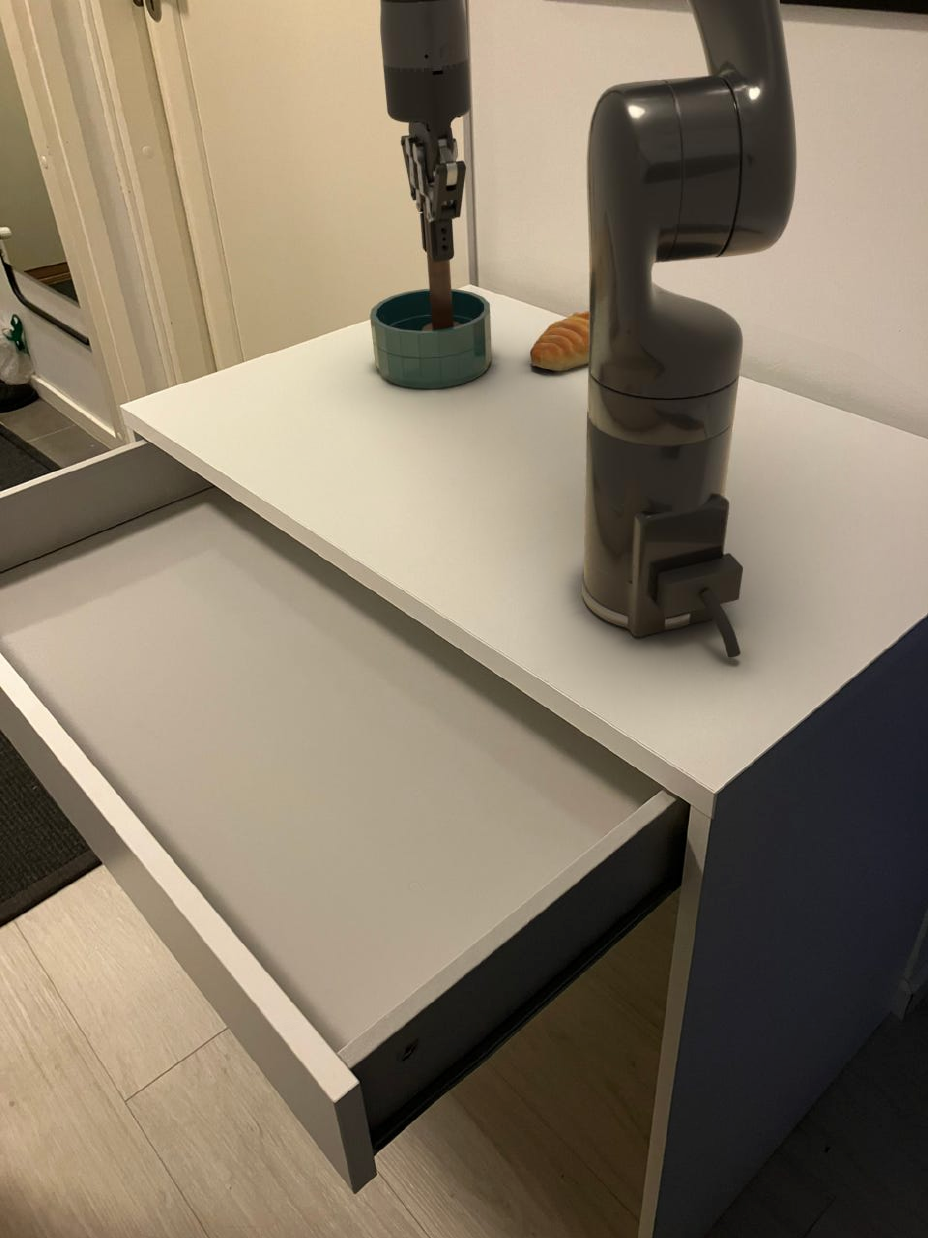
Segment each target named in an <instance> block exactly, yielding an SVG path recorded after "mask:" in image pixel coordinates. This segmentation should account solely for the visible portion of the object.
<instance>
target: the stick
mask: <svg viewBox="0 0 928 1238" xmlns="http://www.w3.org/2000/svg"><path fill="white" fill-rule="evenodd" d="M442 205H446V201H444V202H443V203H442ZM423 208H424V222H425V235H426V249H427V252H426V260H427V261H426V262H427V273H428V287H429V288H428V289H430V303H431V316H432V323H430V324H428V325H426V326H424V327H423V329H422V331H430V330H441V329H446V328H452V327H456V326H459V325H462V324H460V323H458V322H454V321H453V306H452V289H453V288H452V275H451V260H445V261H439V262H436V261H434V260H433V259H432V258H431V256H430V242H429V229H428V219H427V208H426V201H425V202H424V203H423Z"/></svg>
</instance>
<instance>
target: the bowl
mask: <svg viewBox="0 0 928 1238" xmlns="http://www.w3.org/2000/svg"><path fill="white" fill-rule="evenodd" d="M451 289H452V306H453V321H454V322H458V323H460V324H462V325H459V326H456V327H452V328H446V329H441V330H430V331H422V329H423V327H424V326H426V325H428V324H430V323H432V316H431V303H430V289H429V288H422V289H421V288H420V289H414V290H407V291H404V292H401V293H398V294H395V295H394V294H393V295H391V296H389V297H387V298H385V299H383V300H381V301H379V302H378V303H376V304H375V306H373V307H372V308H371V311H370V315H369V318H370V328H371V337H372V338H371V339H372V346H373V354H374V364H375V366H376V367H377V370H378V371H379V373H380V375H381V376H382V377H383V379H385V380H386V381H388V382H390V383H391V384H394V385H398V386H399V387H400V386H401V387H405V388H412V389H426V390H429V389H430V390H431V389H442V388H449V387H455V386H459V385H462V384H465V383H469V382H471V381H473V380H475V379H478V378H479V377H480V376H482V375H483V374H484V373H485V372H486V371H487V370H488V368H489V366H490V362H491V361H492V360H493V352H492V351H493V350H492V349H493V348H492V347H493V346H492V323H491V321H492V320H491V304H490V302H489V301H488V300H487V299H486V298H485V297H484V296H482V295H479V294H477V293H476V292H472V291H469V290H463V289H457V288H451Z"/></svg>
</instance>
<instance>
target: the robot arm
mask: <svg viewBox="0 0 928 1238" xmlns="http://www.w3.org/2000/svg"><path fill="white" fill-rule="evenodd" d="M686 2H687V4H688V6H689V8H690V11H691V14H692V16H693V19H694V22H695V25H696V28H697V32H698V36H699V38H700V44H701V47H702V50H703V55H704V60H705V64H706V70H707V75H703V76H691V77H690V76H688V77H676V78H664V79H653V80H652V79H651V80H642V81H641V80H640V81H629V82H623V83H618V84H615V85H614V84H613V85H612V86H609V87H608V88H607V89H605V90H604V91H603V92H602V94H601V95H600V97H599V98H598V99H597V101H596V103H595V106H594V108H593V112H592V114H591V118H590V123H589V128H588V133H587V145H586V203H587V206H586V207H587V229H588V230H587V231H588V270H589V272H588V273H589V274H588V275H589V278H588V285H589V286H588V311H589V363H588V371H587V409H586V410H587V412H586V442H585V443H586V447H585V448H586V449H585V483H584V484H585V485H584V487H585V489H584V493H585V494H584V526H583V527H584V528H583V529H584V531H583V572H582V575H581V595H582V598H583V601H584V602H585V604H586V606H587V607H588V609H590V610H591V611H592V612H593V613H594V614H595V615H597V616H598V617H599V618H601V619H604V620H605V621H607V622H608V623H611V624H613V625H616V626H619V627H622V628H626V629H627V630H628V631H629V632H630V633H631V634H632V635H633V636H634V637H636V638H640V637H645V636H649V635H652V634H653V635H654V634H657V633H662V632H665V631H669V630H674V629H678V628H683V627H686V626H690V625H693V624H698V623H701V622H707V621H709V620H713V622H714V624H715V625H716V627H717V629H718V631H719V633H720V635H721V638H722V641H723V644H724V647H725V651H726V655H727V657H728V658H730V659H732V658H737V657H738V656H740V655H741V650H740V646H739V643H738V642H739V641H738V638H737V635H736V632H735V630H734V627H733V625H732V623H731V621H730V619H729V617H728V615H727V613H726V612H725V610H724V609H723V607H722V605H723V604H726V603H731V602H734V601H738V600H739V599H740V593H741V586H742V578H743V571H744V566H743V565H742V564H741V563H740V562H739V561H738V560H737V559H736V558H735V557H734V555H732V553H730V552H728V553H725V547H726V538H727V530H728V522H729V515H730V506H731V505H730V501H729V500H728V499H727V498H726V497H725V496H726V488H727V487H726V486H727V478H728V471H729V461H730V455H731V454H730V453H731V447H732V446H731V445H732V437H733V430H734V429H733V428H734V419H735V413H736V406H737V405H736V404H737V397H738V389H739V380H740V373H741V367H742V366H741V365H742V357H743V348H744V347H743V346H744V338H743V337H744V336H743V331H742V328H741V326H740V324H739V323H738V321H737V320H736V319H735V318H734V316H732V314H731V315H730V313H728V312H727V311H725V310H723V309H722V308H720V307H718V306H716V305H713V304H712V303H709V302H705V301H703V300H700V299H697V298H696V299H695V298H692V297H688V296H685V295H681V294H678V293H675V292H673V291H670V290H667V289H665V288H663V287H661V286H659V285H658V284H656V283H655V282H654V281H653V276H652V273H653V267H654V264H660V263H671V262H682V261H694V260H707V259H715V258H728V257H736V256H737V257H738V256H746V255H752V254H757V253H761V252H764V251H767V250H768V249H770V248H772V247H773V246H775V244H776V243H777V242H778V241H779V240H780V239H781V237H782V236H783V234H784V233H785V230H786V229H787V226H788V223H789V220H790V218H791V213H792V210H793V207H794V201H795V192H796V184H797V163H798V162H797V157H798V155H797V154H798V153H797V152H798V151H797V136H796V135H797V133H796V120H795V110H794V109H795V108H794V101H793V92H792V91H793V90H792V83H791V82H792V81H791V75H790V68H789V60H788V53H787V48H786V47H787V45H786V39H785V31H784V24H783V17H782V10H781V2H780V0H686ZM379 4H380V5H379V6H380V16H379V32H380V44H381V55H382V56H381V57H382V68H383V78H384V91H385V101H386V111H387V115H388V116H389V117H390V118H391V120H394V121H397V122H399V123H407V124H408V135H401V136H400V145H401V148H402V154H403V158H404V164H405V169H406V174H407V179H408V185H409V191H410V197H411V199H412V201H413V202H414V201H415V202H416V203H415V208H416V210H417V212H418V213H419V219H420V231H421V244H422V245H421V246H422V250H423V251H424V252H425V253H427V249H426V235H425V222H424V208H423V203H424V202H425V201H426V208H427V219H428V229H429V242H430V256H431V258H432V259H433V260H434V261H436V262H439V261H445V260H450V261H451V260H453V258H454V257H455V247H454V246H455V244H454V243H455V242H454V227H453V226H454V225H453V220H455V219H457V218H458V219H459V218H461V214H462V206H463V198H464V197H463V196H464V188H465V180H466V171H467V166H466V163H465V162H464V160H458V159H459V148H458V141H457V138H456V137H454V134H453V128H452V123H453V121H454V120H455V119H456V118H457V119H458V118H462V117H464V116H466V115H468V114H467V113H469V111H470V109H471V93H470V92H471V90H470V71H469V70H470V69H469V68H470V67H469V48H468V47H469V45H468V26H467V25H468V24H467V18H466V17H467V16H466V11H465V6H464V5H465V4H464V0H379ZM444 201H446V205H442V203H443V202H444ZM721 604H722V605H721Z"/></svg>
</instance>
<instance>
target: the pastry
mask: <svg viewBox="0 0 928 1238" xmlns="http://www.w3.org/2000/svg"><path fill="white" fill-rule="evenodd" d="M529 354H530V355H529V356H530V363H531V366H535V367H538V368H541V369H547V370H550V371H556V372H557V371H558V372H560V373H561V372H562V371H564V372H566V371H569V370H570V369H573V368H580V367H582V366H585V365H586V364H588V365H589V310H588V311H583V312H577V311H576V312H574V313H573V314H572V315H571V316H568V317H567V318H564V319H562V320H558V321H554V322H553V323H551V324H550V325H549V326H548V327H547V328H546V330H544V331H543V333H542V334H541V335H539V337H538V339H536V341H535V343H534V344H533V346H532V347H531V349H530V351H529Z"/></svg>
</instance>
